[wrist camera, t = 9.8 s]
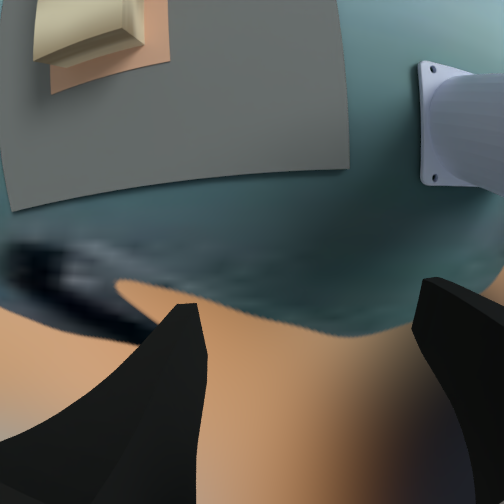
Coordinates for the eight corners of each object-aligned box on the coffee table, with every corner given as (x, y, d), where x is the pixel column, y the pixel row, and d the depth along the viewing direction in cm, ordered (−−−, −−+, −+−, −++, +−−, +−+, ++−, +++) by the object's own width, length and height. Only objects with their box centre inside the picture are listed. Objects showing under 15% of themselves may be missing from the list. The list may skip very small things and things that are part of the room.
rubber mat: (306, -112, 7) (308, -116, 7) (346, 167, 16) (350, 169, 16) (17, -45, 7) (14, -47, 7) (16, 209, 16) (11, 212, 16)
